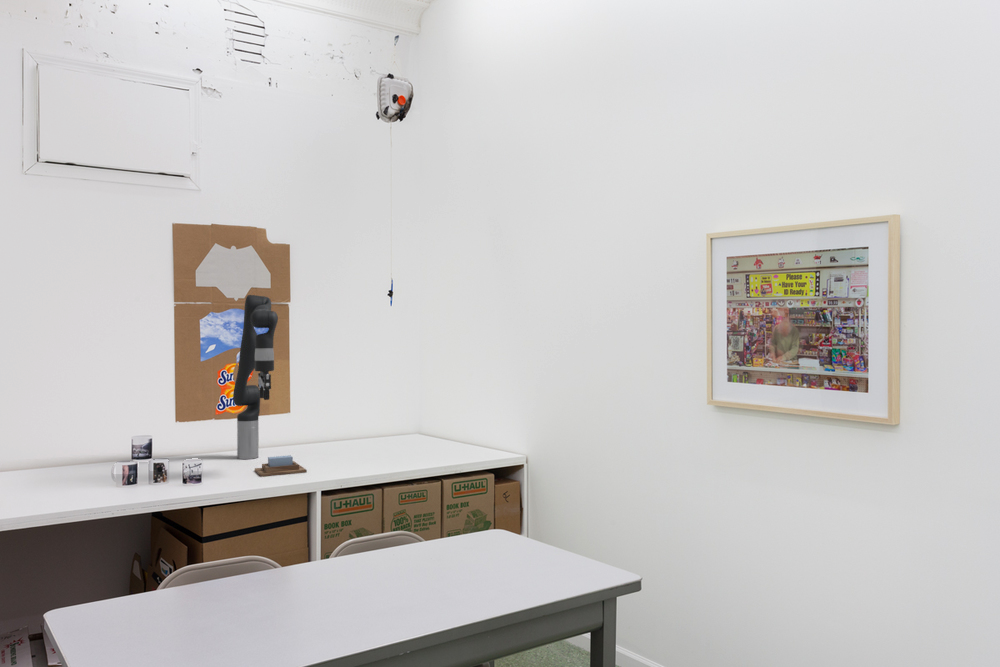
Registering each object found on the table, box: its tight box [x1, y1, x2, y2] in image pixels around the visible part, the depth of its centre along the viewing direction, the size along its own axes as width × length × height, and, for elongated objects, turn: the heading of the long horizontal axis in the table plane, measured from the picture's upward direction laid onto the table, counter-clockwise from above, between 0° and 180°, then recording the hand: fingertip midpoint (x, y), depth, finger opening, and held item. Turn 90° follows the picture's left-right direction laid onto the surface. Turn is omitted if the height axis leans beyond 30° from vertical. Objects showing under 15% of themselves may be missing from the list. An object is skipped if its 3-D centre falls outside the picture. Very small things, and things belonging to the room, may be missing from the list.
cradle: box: [254, 460, 307, 478], centre depth 290 cm, size 14×18×3 cm
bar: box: [267, 454, 294, 467], centre depth 290 cm, size 9×4×5 cm, turn 119°
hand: (264, 398), depth 289 cm, fingers open, 8 cm apart
